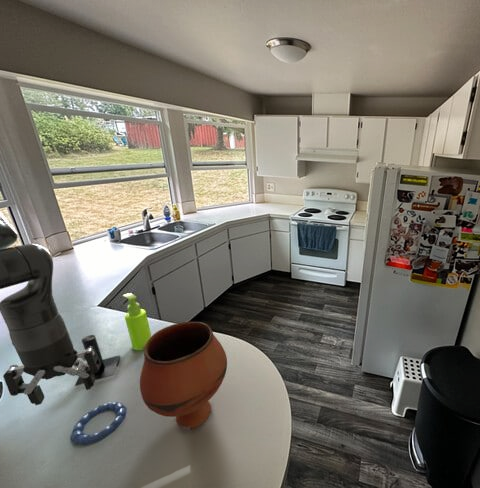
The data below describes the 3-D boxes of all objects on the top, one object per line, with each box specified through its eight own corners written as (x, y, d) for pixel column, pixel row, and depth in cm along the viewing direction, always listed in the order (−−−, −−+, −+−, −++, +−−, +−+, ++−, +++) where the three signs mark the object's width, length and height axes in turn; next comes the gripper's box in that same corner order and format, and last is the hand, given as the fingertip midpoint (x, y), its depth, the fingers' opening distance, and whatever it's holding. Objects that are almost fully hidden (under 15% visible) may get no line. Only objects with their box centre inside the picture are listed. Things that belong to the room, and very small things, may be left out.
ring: (65, 456, 57) (62, 450, 56) (81, 416, 66) (79, 410, 65) (122, 434, 62) (120, 429, 61) (130, 400, 70) (128, 394, 70)
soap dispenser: (146, 335, 95) (135, 289, 88) (155, 342, 91) (145, 295, 85) (128, 345, 90) (115, 296, 83) (137, 352, 87) (124, 303, 80)
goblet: (215, 454, 58) (202, 372, 50) (132, 453, 58) (105, 370, 50) (240, 383, 76) (233, 315, 68) (177, 383, 76) (162, 313, 68)
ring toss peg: (75, 388, 73) (61, 353, 69) (85, 366, 80) (73, 333, 76) (114, 377, 77) (103, 343, 73) (120, 357, 85) (111, 325, 80)
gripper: (91, 318, 59) (109, 371, 64) (3, 336, 52) (31, 393, 58) (80, 338, 53) (101, 394, 58) (-21, 361, 46) (12, 422, 52)
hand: (66, 394), depth 58 cm, fingers open, 8 cm apart
